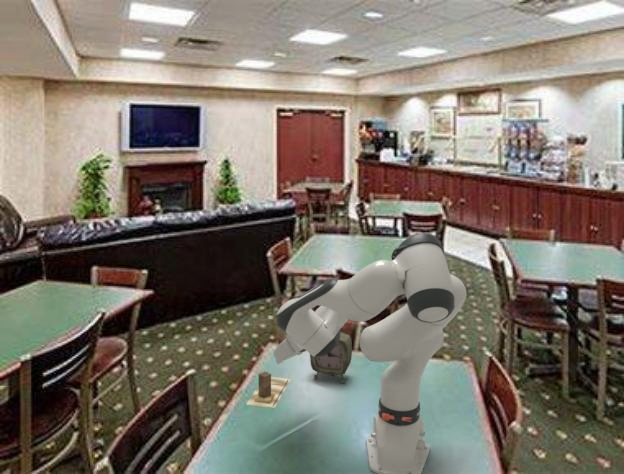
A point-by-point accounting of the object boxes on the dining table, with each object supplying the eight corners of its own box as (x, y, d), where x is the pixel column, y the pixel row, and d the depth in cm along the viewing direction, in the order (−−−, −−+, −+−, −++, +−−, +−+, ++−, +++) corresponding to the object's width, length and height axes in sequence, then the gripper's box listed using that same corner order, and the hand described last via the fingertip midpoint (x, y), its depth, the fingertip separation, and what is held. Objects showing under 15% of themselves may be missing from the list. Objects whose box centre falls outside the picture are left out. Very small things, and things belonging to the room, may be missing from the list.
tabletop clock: (309, 380, 197) (310, 317, 193) (316, 370, 206) (317, 309, 201) (347, 386, 193) (348, 321, 188) (352, 375, 201) (354, 313, 197)
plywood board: (274, 412, 174) (274, 408, 173) (245, 408, 176) (245, 404, 175) (290, 382, 195) (290, 379, 195) (265, 380, 197) (265, 376, 197)
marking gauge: (275, 395, 182) (274, 371, 180) (270, 403, 176) (270, 378, 175) (259, 393, 183) (259, 369, 181) (254, 401, 178) (254, 376, 176)
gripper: (327, 317, 167) (303, 339, 175) (284, 334, 152) (260, 358, 159) (338, 334, 165) (313, 355, 173) (296, 352, 150) (271, 375, 157)
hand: (288, 357), depth 166 cm, fingers open, 8 cm apart
